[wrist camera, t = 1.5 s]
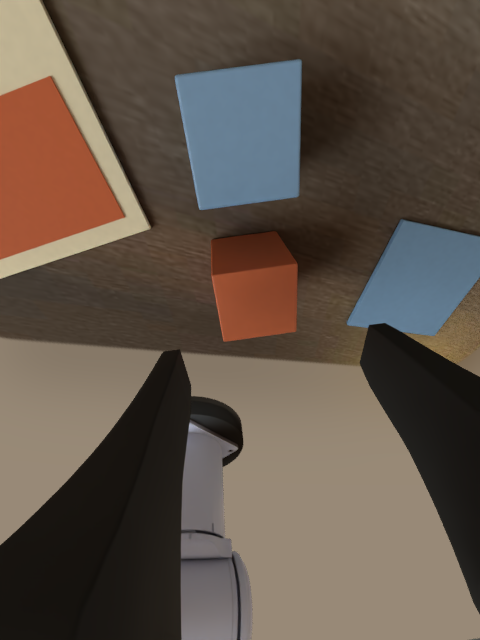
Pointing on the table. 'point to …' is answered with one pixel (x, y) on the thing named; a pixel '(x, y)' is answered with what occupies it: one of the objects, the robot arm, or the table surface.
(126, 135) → the table surface
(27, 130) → the sorting mat
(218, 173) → the slate block
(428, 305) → the blue pad
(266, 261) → the terracotta block
